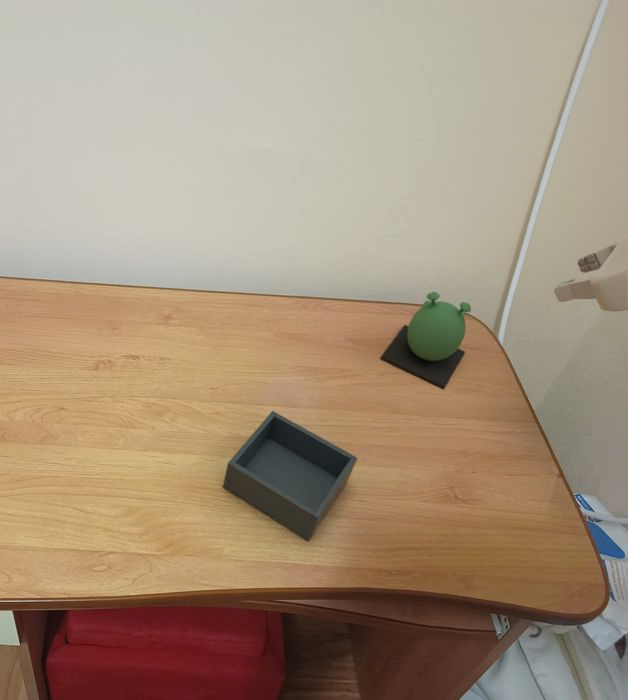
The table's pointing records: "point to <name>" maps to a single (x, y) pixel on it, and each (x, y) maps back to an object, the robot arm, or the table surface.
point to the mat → (420, 361)
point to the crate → (289, 474)
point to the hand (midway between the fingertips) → (569, 278)
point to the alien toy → (437, 329)
